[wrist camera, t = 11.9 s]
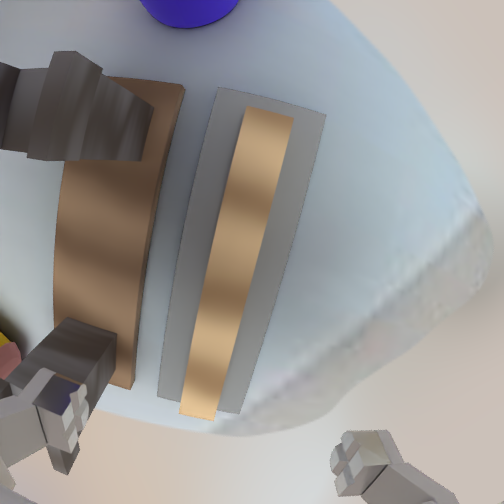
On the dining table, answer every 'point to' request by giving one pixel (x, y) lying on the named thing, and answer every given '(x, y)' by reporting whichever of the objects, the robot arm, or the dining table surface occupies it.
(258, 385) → the dining table surface
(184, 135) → the dining table surface
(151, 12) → the bottle
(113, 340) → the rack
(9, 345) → the alarm clock
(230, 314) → the rail
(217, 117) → the mat
